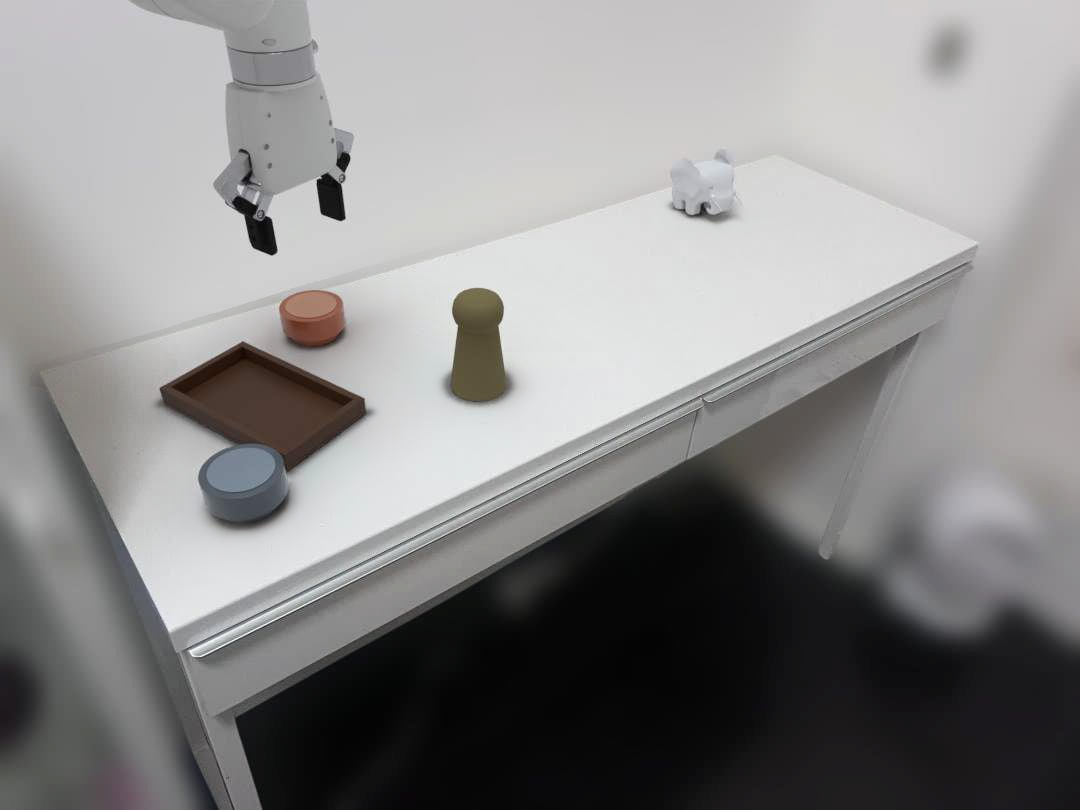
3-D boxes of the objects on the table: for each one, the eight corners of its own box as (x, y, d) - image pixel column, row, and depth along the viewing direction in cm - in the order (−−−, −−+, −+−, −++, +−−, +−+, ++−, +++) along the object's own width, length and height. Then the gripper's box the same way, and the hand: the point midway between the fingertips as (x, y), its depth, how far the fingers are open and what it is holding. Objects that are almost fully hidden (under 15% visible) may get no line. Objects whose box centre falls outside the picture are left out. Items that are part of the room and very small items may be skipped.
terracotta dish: (315, 357, 89) (310, 327, 87) (270, 337, 92) (265, 307, 90) (359, 330, 94) (356, 301, 91) (315, 311, 97) (311, 283, 94)
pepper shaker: (493, 363, 90) (493, 275, 83) (515, 393, 85) (518, 303, 79) (441, 375, 87) (438, 286, 81) (462, 407, 83) (460, 315, 76)
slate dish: (245, 543, 67) (236, 509, 65) (190, 508, 70) (179, 475, 68) (307, 495, 72) (301, 462, 70) (252, 464, 75) (245, 432, 73)
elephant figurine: (707, 232, 119) (717, 174, 113) (651, 203, 126) (659, 147, 121) (751, 218, 123) (763, 161, 118) (695, 190, 131) (704, 136, 125)
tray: (287, 471, 74) (284, 455, 73) (163, 403, 82) (158, 387, 80) (366, 413, 82) (364, 398, 80) (246, 356, 89) (242, 340, 88)
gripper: (312, 37, 82) (332, 197, 92) (166, 77, 70) (209, 254, 81) (367, 51, 79) (382, 214, 89) (225, 94, 67) (261, 276, 77)
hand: (300, 233), depth 85 cm, fingers open, 9 cm apart
